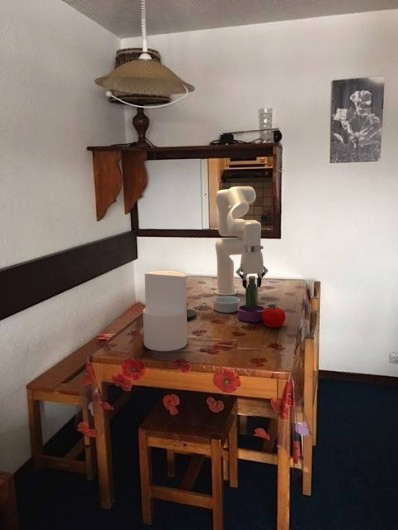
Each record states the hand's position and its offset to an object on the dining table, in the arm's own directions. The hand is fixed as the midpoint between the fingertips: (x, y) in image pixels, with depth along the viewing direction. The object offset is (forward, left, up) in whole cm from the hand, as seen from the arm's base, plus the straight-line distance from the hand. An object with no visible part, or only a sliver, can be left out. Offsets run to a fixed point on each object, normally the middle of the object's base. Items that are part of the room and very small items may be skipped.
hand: (251, 287), depth 211 cm
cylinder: (+49, -7, -15) cm, 52 cm away
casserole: (+23, -31, -15) cm, 42 cm away
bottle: (0, 0, -9) cm, 9 cm away
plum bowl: (0, 0, -15) cm, 15 cm away
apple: (+2, +14, -15) cm, 21 cm away
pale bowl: (-4, -18, -15) cm, 24 cm away
